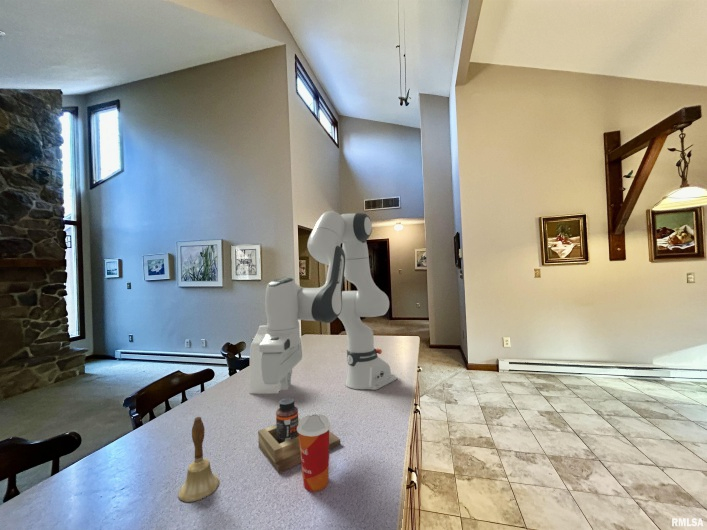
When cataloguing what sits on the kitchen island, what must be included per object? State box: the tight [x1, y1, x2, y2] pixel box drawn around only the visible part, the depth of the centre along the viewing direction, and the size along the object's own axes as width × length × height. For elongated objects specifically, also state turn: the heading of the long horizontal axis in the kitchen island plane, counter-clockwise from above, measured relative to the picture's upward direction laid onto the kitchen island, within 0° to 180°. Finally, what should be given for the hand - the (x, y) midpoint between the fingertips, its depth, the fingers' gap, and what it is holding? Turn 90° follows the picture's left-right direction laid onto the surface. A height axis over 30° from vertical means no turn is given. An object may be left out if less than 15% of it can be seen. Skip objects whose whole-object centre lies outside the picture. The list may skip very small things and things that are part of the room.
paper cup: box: [297, 413, 332, 493], centre depth 69 cm, size 8×8×14 cm
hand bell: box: [177, 416, 220, 503], centre depth 68 cm, size 8×8×16 cm
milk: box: [248, 325, 282, 394], centre depth 127 cm, size 12×12×26 cm
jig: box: [257, 417, 341, 474], centre depth 83 cm, size 18×14×4 cm
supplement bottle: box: [275, 397, 299, 444], centre depth 83 cm, size 6×6×11 cm
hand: (286, 387), depth 83 cm, fingers closed
